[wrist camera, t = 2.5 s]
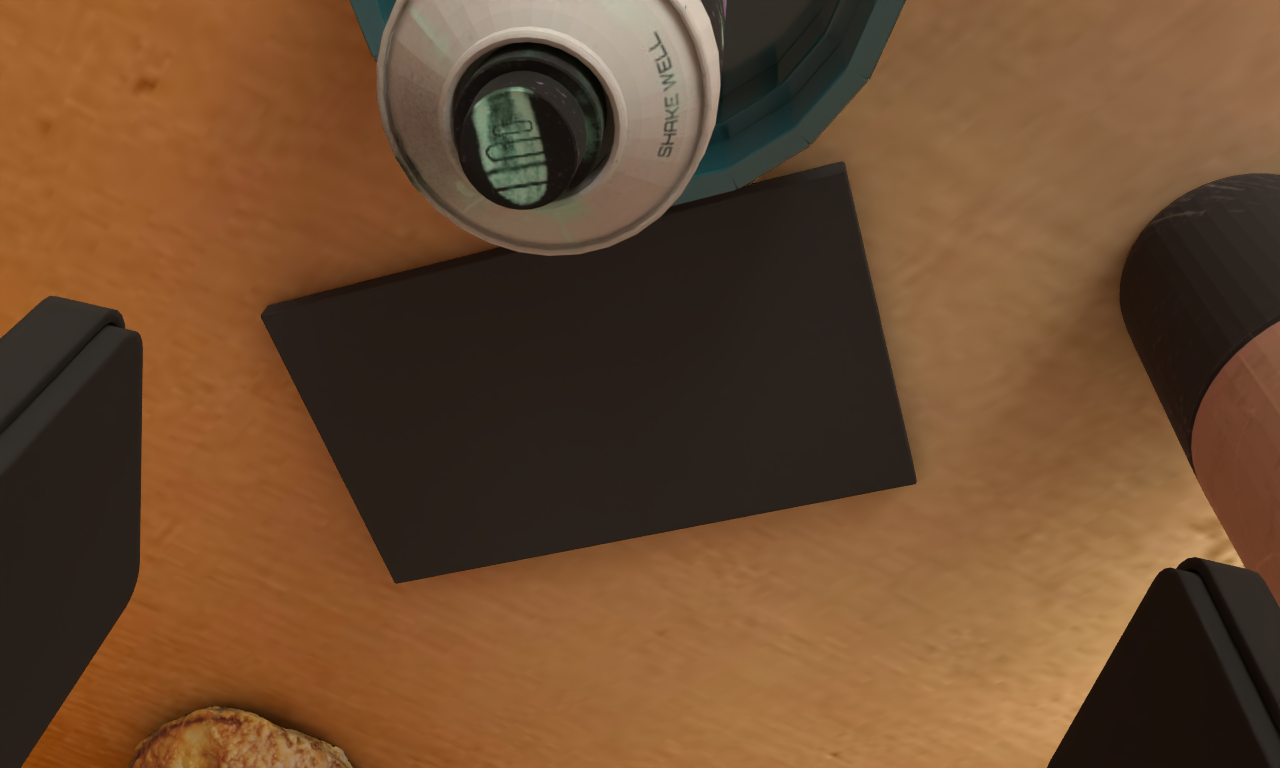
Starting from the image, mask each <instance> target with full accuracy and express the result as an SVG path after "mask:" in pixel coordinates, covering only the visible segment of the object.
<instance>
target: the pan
mask: <svg viewBox="0 0 1280 768" xmlns="http://www.w3.org/2000/svg"><path fill="white" fill-rule="evenodd" d="M349 1H350V3H351V6H352V8H353V10H354V13H355V15H356V18H357V20H358V23H359V25H360V28H361V30H362V33H363V35H364V38H365V40H366V42H367V45H368V47H369V50H370V52H371V55H372V56H373V57H374V60H375V61H376V62H377V60H378V55H379V50H380V45H381V40H382V35H383V31H384V29H385V27H386V24H387V22H388V20H389V17H390V14H391V12H392V10H393V7H394V5H395V3H396V0H349ZM905 1H906V0H727V3H726V16H725V30H724V44H723V58H722V72H721V85H720V95H719V102H718V109H717V116H716V124H715V126H714V129H713V132H712V135H711V138H710V140H709V143H708V146H707V149H706V152H705V154H704V156H703V157H702V159H701V161H700V162H699V165H698V167H697V169H696V171H695V173H694V174H693V176H692V178H691V179H690V181H689V183H688V184H687V186H686V188H685V189H684V191H683V193H682V194H681V195H680V196H679V198H678V199H677V200H676V201H675V202H674V203H673V204H672V205H671V206H675V205H679V204H683V203H687V202H691V201H695V200H699V199H703V198H707V197H711V196H715V195H719V194H723V193H727V192H731V191H735V190H736V189H737V188H738V189H740V188H742V187H743V186H745V185H747V184H748V183H750V182H752V181H753V180H755V179H757V178H758V177H760V176H762V175H763V174H765V173H766V172H768V171H770V170H771V169H773V168H775V167H776V166H778V165H780V164H781V163H783V162H785V161H786V160H788V159H790V158H791V157H793V156H795V155H796V154H798V153H800V152H801V151H803V150H805V149H806V148H808V147H809V144H812V143H813V142H814V141H815V140H816V139H817V138H818V137H819V136H820V134H821V133H822V132H823V131H824V130H825V129H826V128H827V127H828V125H829V124H830V123H831V122H832V121H833V120H834V119H835V118H836V116H837V115H838V114H839V113H840V112H841V111H842V110H843V109H844V108H845V106H846V105H847V104H848V103H849V102H850V101H851V100H852V99H853V97H854V96H855V95H856V94H857V93H858V92H859V91H860V90H861V88H862V87H863V86H864V85H865V84H866V83H867V81H868V79H870V78H871V76H872V73H873V71H874V69H875V67H876V65H877V62H878V60H879V58H880V56H881V54H882V52H883V49H884V47H885V45H886V43H887V41H888V38H889V36H890V34H891V32H892V30H893V28H894V25H895V23H896V21H897V19H898V17H899V14H900V12H901V10H902V8H903V6H904V4H905ZM671 206H670V207H671Z"/></svg>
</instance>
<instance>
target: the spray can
mask: <svg viewBox="0 0 1280 768" xmlns="http://www.w3.org/2000/svg"><path fill="white" fill-rule="evenodd" d="M726 3H727V0H396V3H395V5H394V7H393V10H392V12H391V14H390V17H389V20H388V22H387V24H386V27H385V29H384V31H383V35H382V40H381V45H380V50H379V55H378V60H377V100H378V105H379V109H380V114H381V119H382V124H383V129H384V131H385V134H386V136H387V138H388V141H389V143H390V146H391V148H392V151H393V153H394V155H395V158H396V160H397V161H398V163H399V164H400V166H401V167H402V169H403V171H404V172H405V174H406V175H407V177H408V178H409V180H410V181H411V183H412V185H413V186H414V187H415V188H416V189H417V190H418V191H419V192H420V193H421V195H422V196H423V197H424V198H425V199H426V200H427V201H428V202H429V203H430V204H431V205H432V206H433V207H434V209H436V210H437V211H438V212H440V213H441V214H442V215H444V216H445V217H446V218H447V219H449V220H450V221H451V222H453V223H454V224H455V225H457V226H458V227H459V228H461V229H463V230H465V231H467V232H469V233H471V234H472V235H474V236H476V237H478V238H480V239H482V240H484V241H486V242H488V243H491V244H494V245H497V246H501V247H504V248H507V249H510V250H513V251H517V252H522V253H530V254H538V255H546V256H555V255H574V254H582V253H586V252H590V251H595V250H599V249H603V248H607V247H610V246H612V245H614V244H616V243H619V242H621V241H623V240H625V239H627V238H630V237H632V236H634V235H636V234H638V233H639V232H640V231H642V230H643V229H644V228H646V227H647V226H649V225H650V224H651V223H653V222H654V221H656V220H657V219H658V218H660V217H661V216H662V215H663V214H664V213H665V212H666V211H667V209H668V208H669V207H670V206H671V205H672V204H673V203H674V202H675V201H676V200H677V199H678V198H679V196H680V195H681V194H682V193H683V191H684V189H685V188H686V186H687V184H688V183H689V181H690V179H691V178H692V176H693V174H694V173H695V171H696V169H697V167H698V165H699V162H700V161H701V159H702V157H703V156H704V154H705V152H706V149H707V146H708V143H709V140H710V138H711V135H712V132H713V129H714V126H715V124H716V116H717V109H718V102H719V95H720V85H721V72H722V58H723V44H724V30H725V16H726Z"/></svg>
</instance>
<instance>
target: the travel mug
mask: <svg viewBox="0 0 1280 768" xmlns="http://www.w3.org/2000/svg"><path fill="white" fill-rule="evenodd" d="M1120 305H1121V312H1122V315H1123V319H1124V322H1125V325H1126V328H1127V331H1128V333H1129V335H1130V338H1131V340H1132V342H1133V344H1134V347H1135V349H1136V351H1137V353H1138V355H1139V357H1140V359H1141V361H1142V364H1143V366H1144V368H1145V370H1146V372H1147V374H1148V376H1149V378H1150V381H1151V383H1152V385H1153V387H1154V389H1155V391H1156V393H1157V395H1158V397H1159V400H1160V402H1161V404H1162V406H1163V408H1164V410H1165V412H1166V414H1167V417H1168V419H1169V421H1170V423H1171V425H1172V427H1173V429H1174V431H1175V433H1176V436H1177V438H1178V440H1179V442H1180V444H1181V446H1182V448H1183V450H1184V452H1185V455H1186V457H1187V459H1188V461H1189V463H1190V465H1191V467H1192V469H1193V472H1194V474H1195V476H1196V478H1197V480H1198V482H1199V484H1200V486H1201V488H1202V490H1203V492H1204V494H1205V496H1206V497H1207V499H1208V501H1209V503H1210V505H1211V506H1212V508H1213V510H1214V512H1215V514H1216V515H1217V517H1218V519H1219V521H1220V523H1221V524H1222V526H1223V528H1224V530H1225V532H1226V533H1227V535H1228V537H1229V539H1230V541H1231V542H1232V544H1233V546H1234V548H1235V550H1236V551H1237V553H1238V555H1239V557H1240V559H1241V560H1242V562H1243V564H1244V566H1245V568H1246V569H1249V570H1252V571H1254V572H1257V573H1259V575H1260V576H1261V577H1262V578H1263V579H1264V581H1265V582H1266V584H1267V586H1268V588H1269V589H1270V591H1271V593H1272V595H1273V596H1274V598H1275V600H1276V602H1277V604H1278V605H1279V607H1280V175H1273V174H1246V175H1237V176H1232V177H1228V178H1224V179H1220V180H1217V181H1214V182H1211V183H1208V184H1205V185H1203V186H1201V187H1199V188H1196V189H1194V190H1192V191H1190V192H1188V193H1187V194H1185V195H1183V196H1182V197H1180V198H1179V199H1177V200H1175V201H1174V202H1173V203H1171V204H1170V205H1169V206H1167V207H1166V208H1165V209H1164V210H1162V211H1161V212H1160V213H1159V214H1158V215H1157V216H1156V217H1155V218H1154V219H1153V220H1152V221H1151V222H1150V223H1149V224H1148V226H1147V227H1146V228H1145V229H1144V230H1143V232H1142V233H1141V234H1140V236H1139V237H1138V239H1137V240H1136V242H1135V243H1134V245H1133V247H1132V249H1131V251H1130V253H1129V255H1128V257H1127V260H1126V263H1125V266H1124V269H1123V272H1122V278H1121V283H1120Z"/></svg>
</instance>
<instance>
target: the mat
mask: <svg viewBox="0 0 1280 768" xmlns="http://www.w3.org/2000/svg"><path fill="white" fill-rule="evenodd" d="M261 318H262V320H263V322H264V324H265V326H266V328H267V330H268V332H269V334H270V336H271V338H272V340H273V342H274V344H275V346H276V348H277V350H278V352H279V354H280V356H281V358H282V360H283V362H284V364H285V366H286V368H287V370H288V372H289V374H290V376H291V378H292V380H293V382H294V384H295V386H296V388H297V390H298V392H299V394H300V396H301V398H302V400H303V402H304V403H305V405H306V407H307V409H308V411H309V413H310V415H311V417H312V419H313V421H314V423H315V425H316V427H317V429H318V431H319V433H320V435H321V437H322V439H323V441H324V443H325V445H326V447H327V449H328V451H329V453H330V455H331V457H332V459H333V461H334V463H335V465H336V467H337V469H338V471H339V473H340V475H341V477H342V479H343V481H344V483H345V485H346V487H347V489H348V491H349V493H350V495H351V497H352V499H353V501H354V503H355V505H356V507H357V509H358V511H359V513H360V515H361V517H362V519H363V521H364V523H365V525H366V527H367V529H368V531H369V533H370V535H371V537H372V539H373V541H374V542H375V544H376V546H377V548H378V550H379V552H380V554H381V556H382V558H383V560H384V562H385V564H386V566H387V568H388V570H389V572H390V574H391V576H392V578H393V580H394V582H395V583H396V584H397V583H402V582H407V581H413V580H418V579H423V578H428V577H434V576H439V575H444V574H449V573H454V572H460V571H465V570H470V569H475V568H480V567H486V566H491V565H496V564H501V563H506V562H512V561H517V560H522V559H527V558H533V557H538V556H543V555H548V554H553V553H559V552H564V551H569V550H574V549H579V548H585V547H590V546H595V545H600V544H605V543H611V542H616V541H621V540H626V539H631V538H637V537H642V536H647V535H652V534H658V533H663V532H668V531H673V530H678V529H684V528H689V527H694V526H699V525H704V524H710V523H715V522H720V521H725V520H730V519H736V518H741V517H746V516H751V515H756V514H762V513H767V512H772V511H777V510H783V509H788V508H793V507H798V506H803V505H809V504H814V503H819V502H824V501H829V500H835V499H840V498H845V497H850V496H855V495H861V494H866V493H871V492H876V491H881V490H887V489H892V488H897V487H902V486H908V485H913V484H916V482H917V480H916V474H915V470H914V465H913V461H912V456H911V452H910V448H909V443H908V439H907V435H906V430H905V426H904V421H903V417H902V413H901V408H900V404H899V399H898V395H897V391H896V386H895V382H894V377H893V373H892V369H891V364H890V360H889V355H888V351H887V347H886V342H885V338H884V334H883V329H882V325H881V320H880V316H879V312H878V307H877V303H876V298H875V294H874V290H873V285H872V281H871V276H870V272H869V268H868V263H867V259H866V254H865V250H864V246H863V241H862V237H861V233H860V228H859V224H858V219H857V215H856V211H855V206H854V202H853V197H852V193H851V189H850V184H849V180H848V175H847V171H846V167H845V163H844V162H839V163H835V164H831V165H827V166H823V167H819V168H815V169H811V170H807V171H803V172H799V173H795V174H791V175H787V176H783V177H779V178H776V179H772V180H768V181H764V182H760V183H756V184H752V185H748V186H744V187H742V188H740V189H738V188H737V189H736V190H735V191H731V192H727V193H723V194H719V195H715V196H711V197H707V198H703V199H699V200H695V201H691V202H687V203H683V204H679V205H675V206H671V207H669V208H668V209H667V211H666V212H665V213H664V214H663V215H662V216H661V217H660V218H658V219H657V220H656V221H654V222H653V223H651V224H650V225H649V226H647V227H646V228H644V229H643V230H642V231H640V232H639V233H638V234H636V235H634V236H632V237H630V238H627V239H625V240H623V241H621V242H619V243H616V244H614V245H612V246H610V247H607V248H603V249H599V250H595V251H590V252H586V253H582V254H574V255H555V256H546V255H538V254H530V253H522V252H517V251H513V250H510V249H507V248H504V247H500V248H496V249H492V250H488V251H484V252H480V253H476V254H472V255H468V256H464V257H460V258H456V259H452V260H448V261H444V262H440V263H436V264H432V265H428V266H424V267H420V268H416V269H412V270H408V271H404V272H400V273H396V274H392V275H388V276H384V277H380V278H376V279H372V280H368V281H364V282H360V283H356V284H352V285H348V286H344V287H341V288H337V289H333V290H329V291H325V292H321V293H317V294H313V295H309V296H305V297H301V298H297V299H293V300H289V301H285V302H281V303H277V304H273V305H269V306H267V308H266V309H265V310H264V312H263V313H262V314H261Z"/></svg>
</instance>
